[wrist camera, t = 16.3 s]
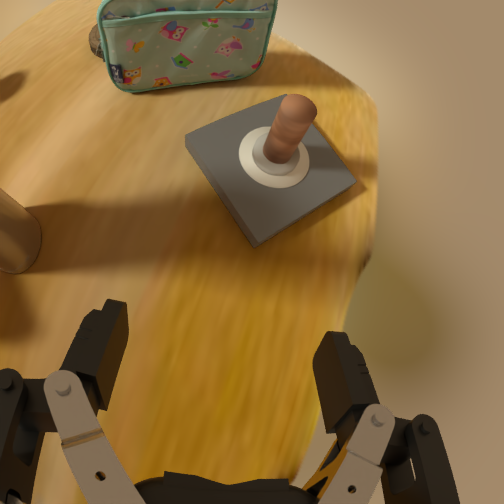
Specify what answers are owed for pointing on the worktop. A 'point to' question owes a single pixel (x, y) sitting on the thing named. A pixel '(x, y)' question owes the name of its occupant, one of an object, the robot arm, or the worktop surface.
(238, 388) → the worktop surface
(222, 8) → the lunch box
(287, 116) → the handle
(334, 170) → the plate
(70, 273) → the worktop surface
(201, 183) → the worktop surface
